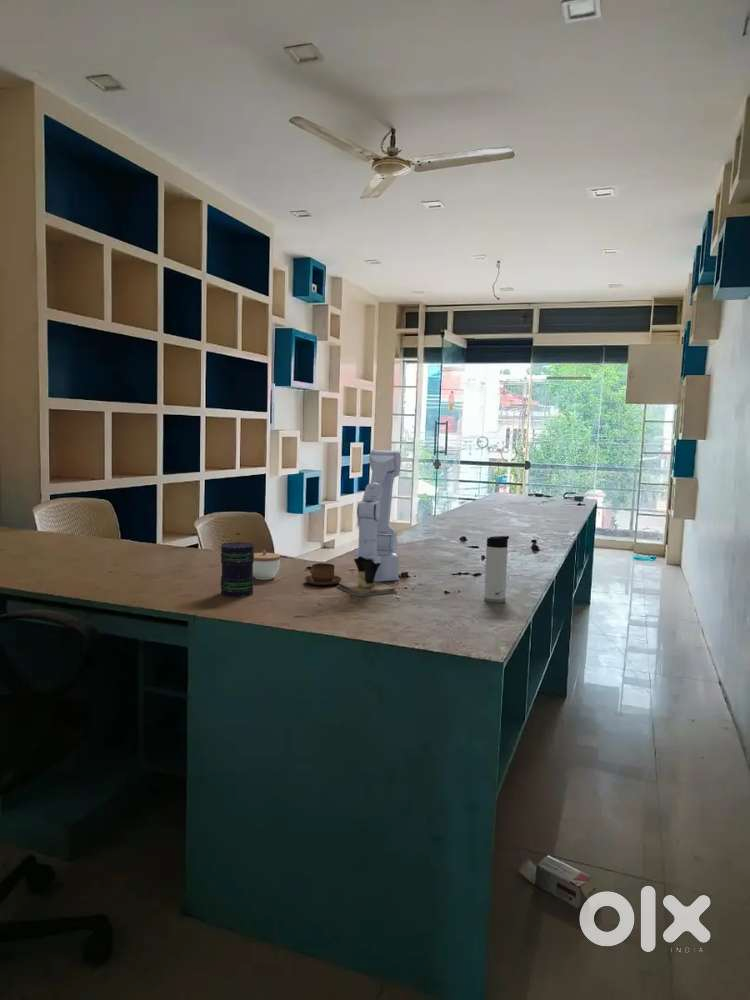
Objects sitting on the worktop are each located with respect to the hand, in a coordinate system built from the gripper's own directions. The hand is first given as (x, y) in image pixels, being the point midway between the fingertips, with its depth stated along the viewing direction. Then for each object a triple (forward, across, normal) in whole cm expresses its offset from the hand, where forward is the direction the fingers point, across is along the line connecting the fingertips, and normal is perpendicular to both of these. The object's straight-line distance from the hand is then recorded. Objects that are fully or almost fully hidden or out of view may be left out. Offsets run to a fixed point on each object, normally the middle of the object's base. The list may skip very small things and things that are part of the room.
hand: (366, 581), depth 217 cm
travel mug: (+3, +27, +30) cm, 40 cm away
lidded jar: (+3, -29, -24) cm, 38 cm away
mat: (+3, 0, 0) cm, 3 cm away
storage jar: (+3, -10, -39) cm, 40 cm away
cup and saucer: (+3, -14, -9) cm, 17 cm away
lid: (+2, 0, 0) cm, 2 cm away
